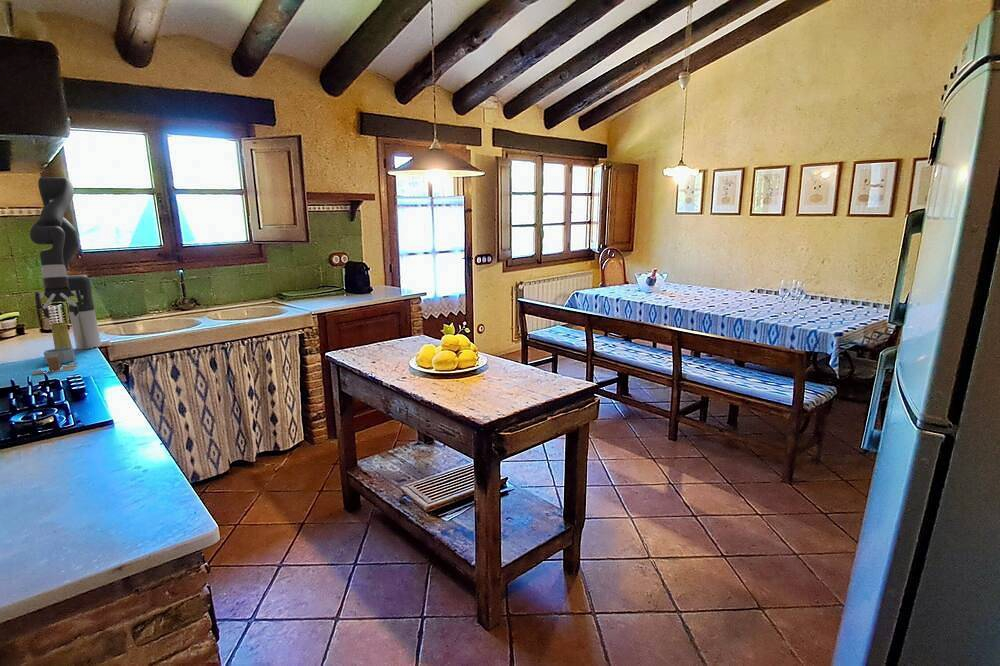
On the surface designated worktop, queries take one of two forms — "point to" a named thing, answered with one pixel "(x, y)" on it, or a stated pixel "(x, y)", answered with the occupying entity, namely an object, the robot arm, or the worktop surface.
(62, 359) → the bowl
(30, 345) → the worktop surface
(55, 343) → the vase
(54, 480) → the worktop surface
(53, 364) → the lid
